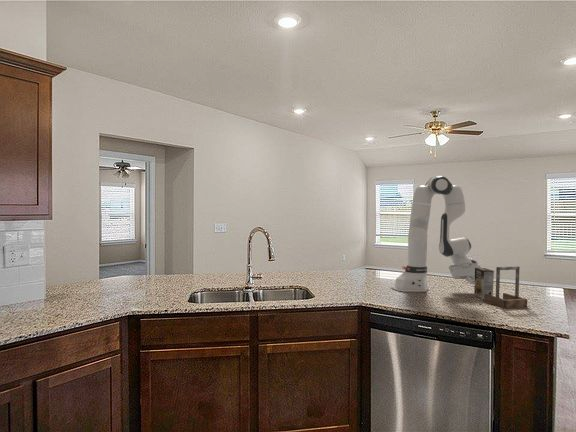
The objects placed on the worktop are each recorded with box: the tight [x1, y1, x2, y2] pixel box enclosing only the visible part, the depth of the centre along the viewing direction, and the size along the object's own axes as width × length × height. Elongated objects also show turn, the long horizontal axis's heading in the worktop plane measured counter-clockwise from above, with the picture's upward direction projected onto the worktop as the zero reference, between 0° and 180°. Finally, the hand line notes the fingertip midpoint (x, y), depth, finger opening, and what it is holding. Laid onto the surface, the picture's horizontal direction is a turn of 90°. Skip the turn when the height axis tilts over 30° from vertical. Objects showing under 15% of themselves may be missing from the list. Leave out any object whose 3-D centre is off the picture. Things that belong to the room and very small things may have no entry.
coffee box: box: [473, 267, 495, 300], centre depth 231 cm, size 9×6×16 cm
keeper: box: [483, 266, 528, 309], centre depth 215 cm, size 13×15×20 cm
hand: (473, 283), depth 240 cm, fingers closed
